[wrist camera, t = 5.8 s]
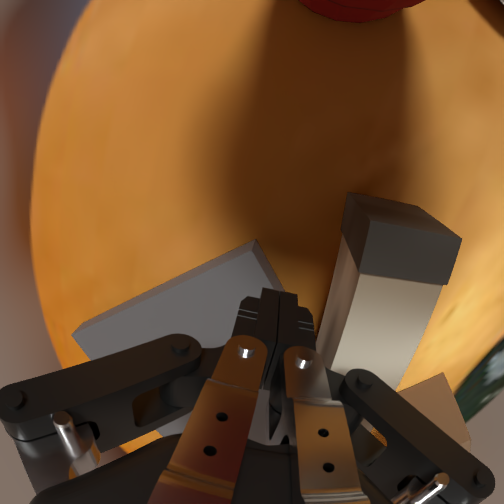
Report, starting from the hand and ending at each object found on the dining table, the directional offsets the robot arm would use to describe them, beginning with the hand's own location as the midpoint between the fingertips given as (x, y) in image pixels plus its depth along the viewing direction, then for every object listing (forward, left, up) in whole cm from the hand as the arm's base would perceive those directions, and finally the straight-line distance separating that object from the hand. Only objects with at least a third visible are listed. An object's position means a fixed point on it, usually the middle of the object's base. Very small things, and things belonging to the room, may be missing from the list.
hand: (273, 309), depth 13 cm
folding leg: (-2, +5, -1) cm, 5 cm away
